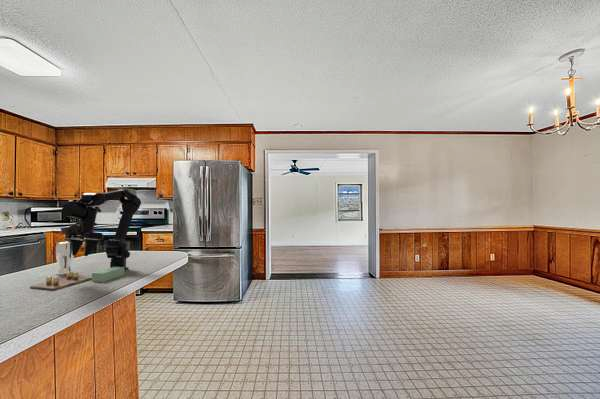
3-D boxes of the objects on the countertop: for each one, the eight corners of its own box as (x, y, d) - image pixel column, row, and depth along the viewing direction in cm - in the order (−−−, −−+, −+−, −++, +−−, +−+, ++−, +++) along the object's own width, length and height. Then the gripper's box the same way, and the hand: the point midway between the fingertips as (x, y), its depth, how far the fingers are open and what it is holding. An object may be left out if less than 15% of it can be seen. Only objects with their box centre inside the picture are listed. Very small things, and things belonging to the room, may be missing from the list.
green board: (114, 274, 134) (114, 266, 134) (124, 275, 133) (124, 267, 133) (91, 281, 123) (91, 272, 123) (102, 282, 122) (102, 273, 122)
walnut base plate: (70, 277, 128) (70, 269, 128) (91, 279, 125) (91, 271, 125) (30, 288, 112) (30, 278, 112) (53, 290, 110) (53, 281, 110)
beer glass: (77, 271, 138) (78, 241, 138) (64, 275, 131) (65, 243, 131) (65, 271, 139) (65, 241, 139) (51, 274, 132) (51, 243, 132)
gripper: (54, 218, 121) (46, 254, 118) (78, 216, 113) (70, 255, 109) (83, 221, 131) (76, 255, 127) (107, 220, 123) (99, 256, 119)
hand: (79, 255), depth 121 cm, fingers open, 9 cm apart
